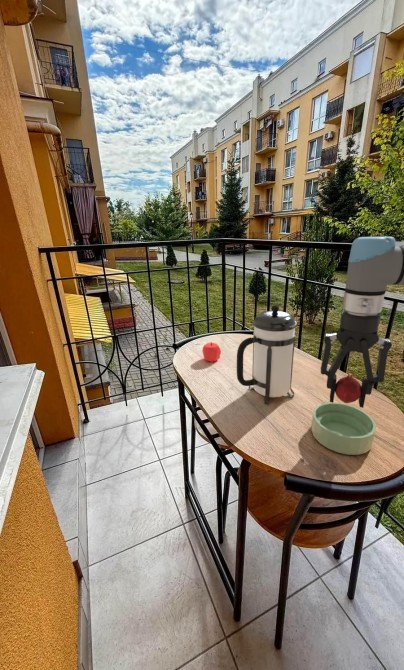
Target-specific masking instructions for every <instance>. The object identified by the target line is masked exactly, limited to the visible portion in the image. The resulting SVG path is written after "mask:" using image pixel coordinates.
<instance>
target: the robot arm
mask: <svg viewBox="0 0 404 670" xmlns="http://www.w3.org/2000/svg"><path fill="white" fill-rule="evenodd" d="M347 262H348V263H347V264H348V265H347V273H346V281H345V289H344V293H343V300H342V309H343V311H341V313H340V321H339V327H338V330H337V331H336V332H335V333H328V332H326V333H325V334H323V341H324V349H323V353H322V359H321V365H320V374H321V375H323V376H324V375H325V376H326V377H327V379H326V389H327V390H328V389H330V392H329V403H334V401H335V395H336V393H335V388H336V383H337V381H338V378H337V374H336V373H337V372H338V370H339V368H340V366H341V365H342V363H343V361H344V359H345V358H346V356H347V355H348V353H351V352H352V353H353V352H356V353H358V354H361V355H362V360H363V365H364V370H365V376H366V378H365V377H362V381H361V384H360V385H361V389H362V392H361V396H360V398H359V399H358V406H359V408H361V409H362V408H364V406H365V401H366V396H368V395H369V396H371V394H372V392H373V386H374V385H375V384H376V383H379V384H380V383H384V382H385V374H386V369H387V360H388V353H389V352H390V350H391V348H392V347H393V344H392V342H391V340H390V338H382V337H380V336H379V334H378V331H379V327H380V322H381V317H382V316H381V314H380V313H381V312H382V311H383V306H384V301H385V295H386V291H387V286H388V285H389V286H390V285H391V286H396V285H398V286H399V285H400V286H402V285H403V286H404V240H402V241H401V240H400V241H397V240H396V239H395V237H393V236H360V237H357V238H355V239H354V240H353V242H352V244H351V248H350V253H349V258H348V261H347ZM335 340H338V342H339V344H340V347H339V350H338V351H337V353H336V355H335V358H334V359H333V361H332V363H331V365H330V367H329V368H328V365H329V361H330V355H331V350H332V345H333V344H335ZM376 344H377V346H378V356H377V364H376V370H375V371H376V372H375V374H373V368H372V363H371V358H370V351H369V350H370V349H371V348H372V347H374V346H375V345H376Z"/></svg>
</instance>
